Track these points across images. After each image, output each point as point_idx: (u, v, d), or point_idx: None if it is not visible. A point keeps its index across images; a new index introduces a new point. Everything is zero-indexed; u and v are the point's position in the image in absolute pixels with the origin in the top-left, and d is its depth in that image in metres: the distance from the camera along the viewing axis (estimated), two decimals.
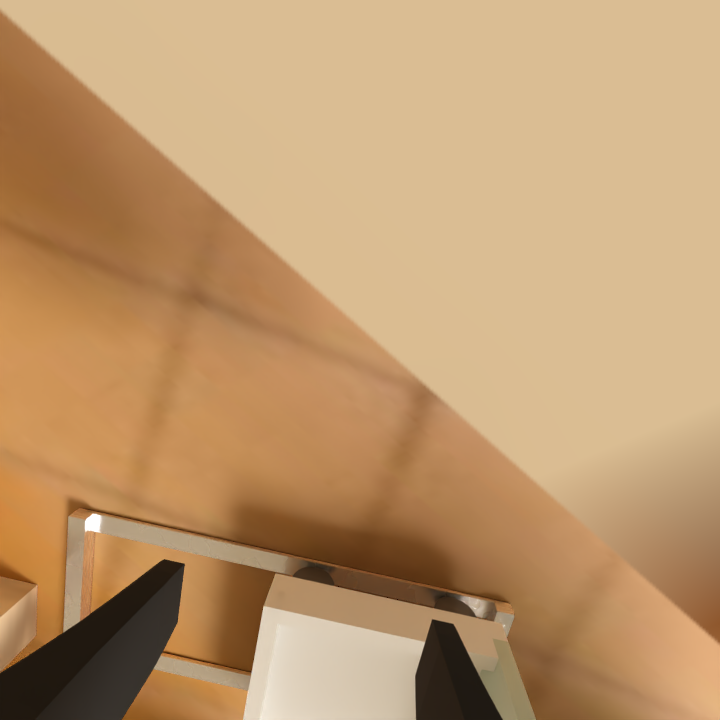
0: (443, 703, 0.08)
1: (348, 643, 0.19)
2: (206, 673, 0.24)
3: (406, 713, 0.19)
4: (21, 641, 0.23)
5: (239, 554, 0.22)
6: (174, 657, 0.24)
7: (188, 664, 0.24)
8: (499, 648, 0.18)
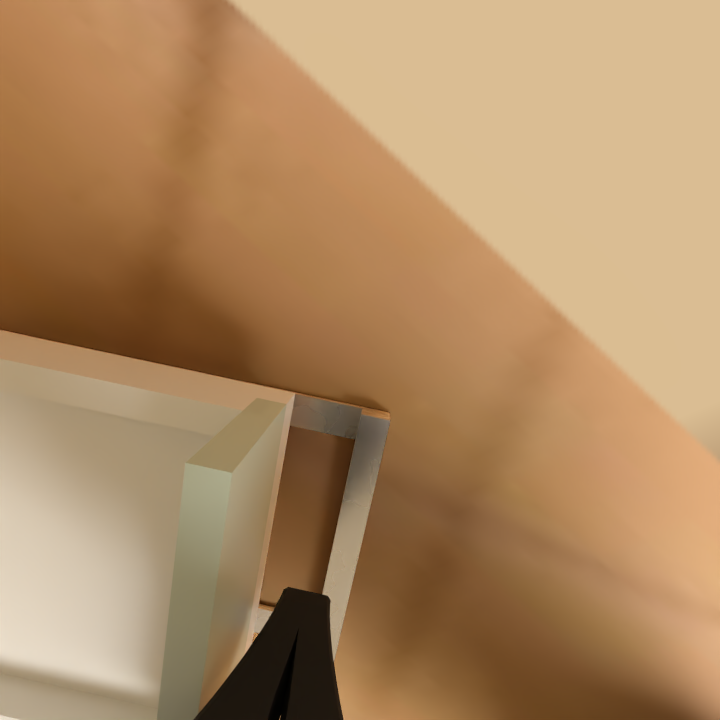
0: (291, 669, 0.08)
1: (6, 419, 0.10)
2: None
3: (131, 558, 0.11)
4: None
5: None
6: None
7: None
8: (258, 405, 0.09)
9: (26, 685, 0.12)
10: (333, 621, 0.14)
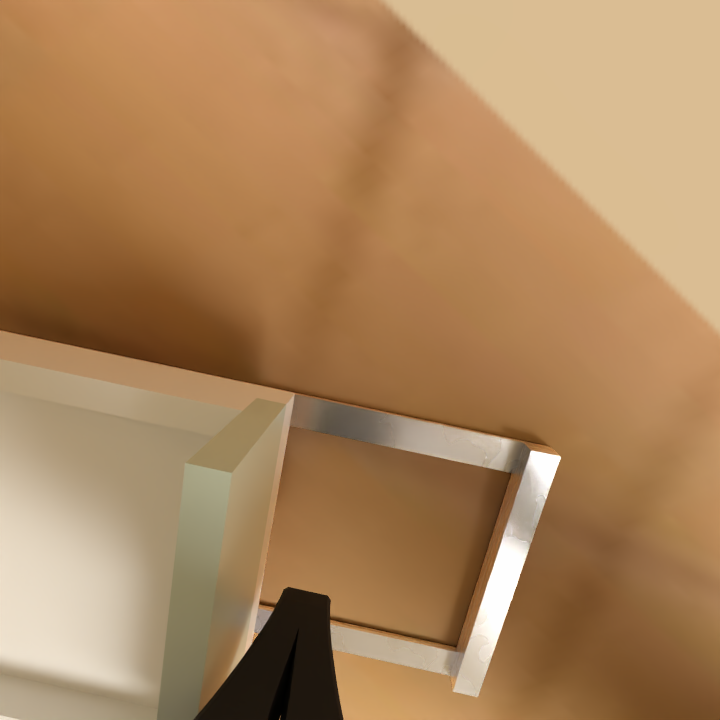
0: (291, 669, 0.08)
1: (6, 420, 0.10)
2: None
3: (131, 558, 0.11)
4: None
5: None
6: None
7: None
8: (258, 405, 0.09)
9: (26, 685, 0.12)
10: (482, 654, 0.14)
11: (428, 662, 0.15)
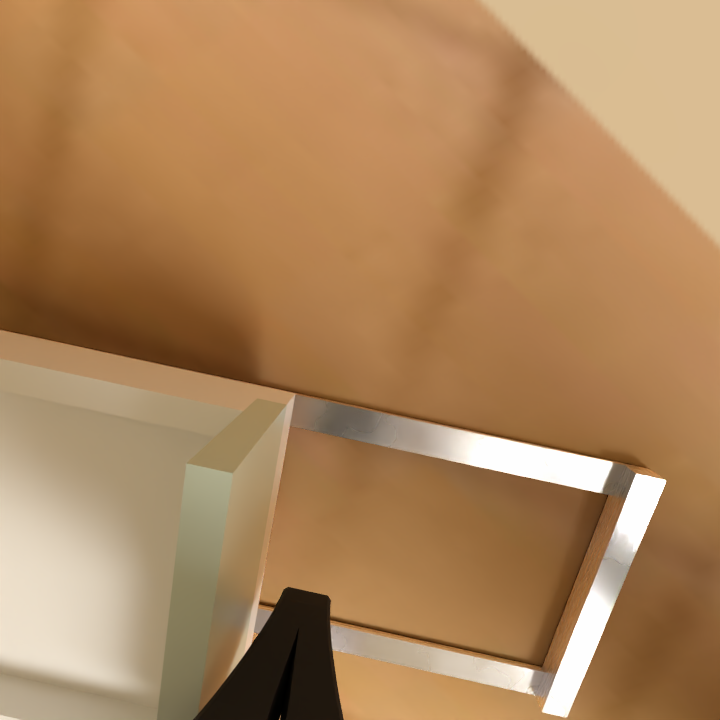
0: (291, 669, 0.08)
1: (7, 419, 0.10)
2: None
3: (131, 558, 0.11)
4: None
5: None
6: None
7: None
8: (259, 405, 0.09)
9: (26, 685, 0.12)
10: (574, 675, 0.14)
11: (514, 682, 0.15)
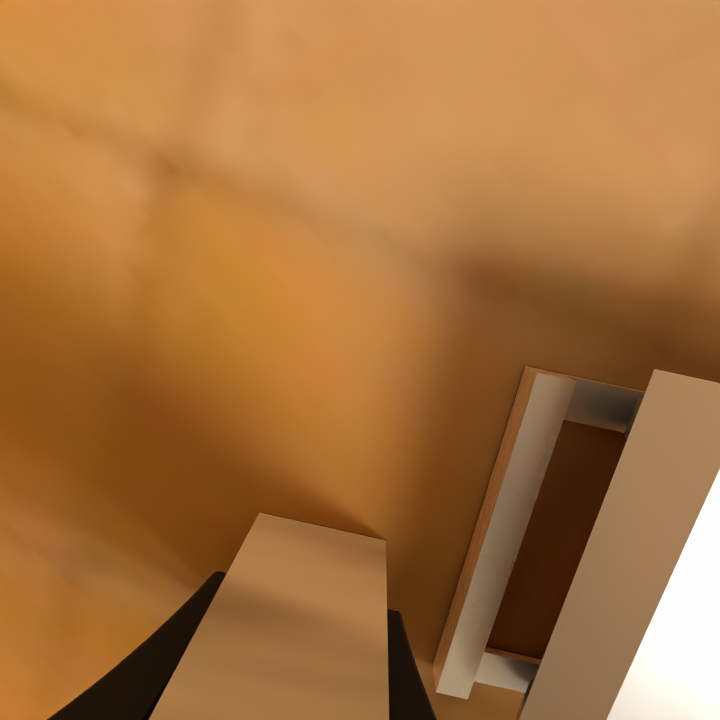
0: None
1: None
2: None
3: None
4: None
5: None
6: None
7: None
8: None
9: None
10: None
11: None
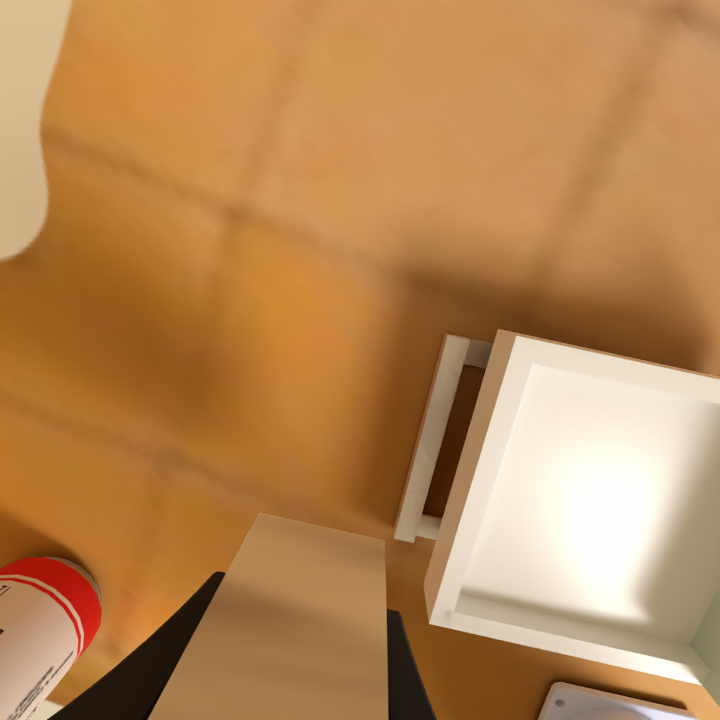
0: None
1: (605, 413, 0.14)
2: None
3: (669, 518, 0.14)
4: None
5: None
6: None
7: None
8: None
9: (554, 617, 0.15)
10: None
11: None
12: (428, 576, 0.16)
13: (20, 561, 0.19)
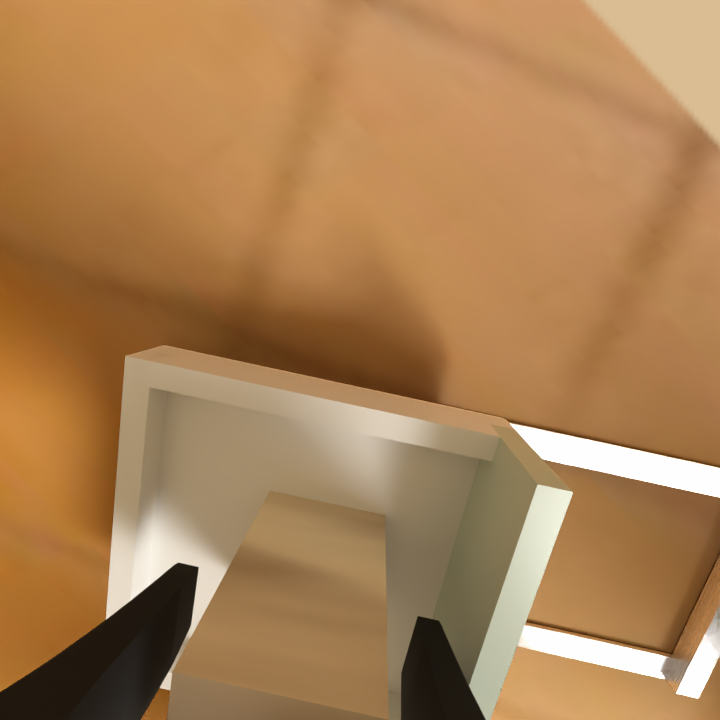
0: (426, 699, 0.08)
1: (270, 440, 0.12)
2: None
3: None
4: None
5: None
6: None
7: None
8: (501, 431, 0.11)
9: None
10: (708, 661, 0.16)
11: (647, 667, 0.17)
12: None
13: None
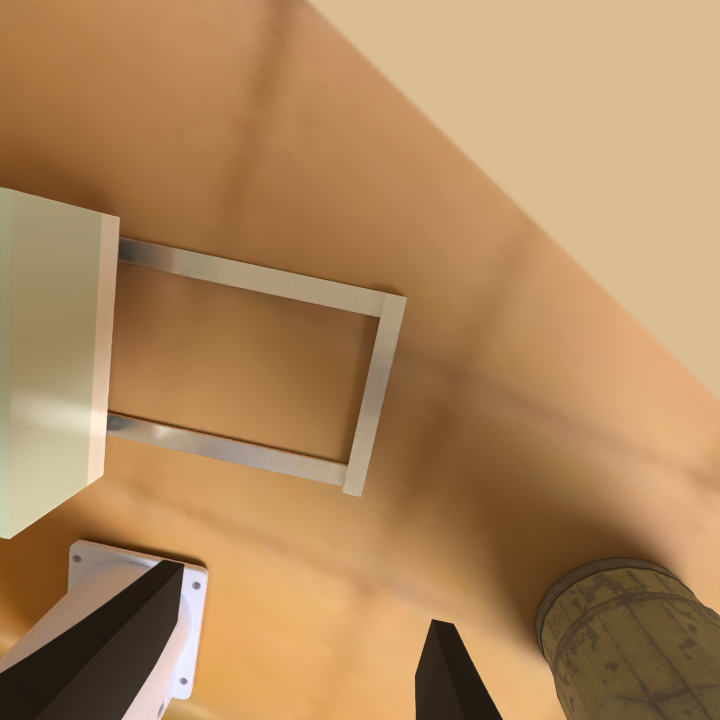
0: (443, 703, 0.08)
1: None
2: None
3: None
4: None
5: None
6: None
7: None
8: None
9: None
10: (362, 460, 0.19)
11: (326, 476, 0.20)
12: None
13: None
